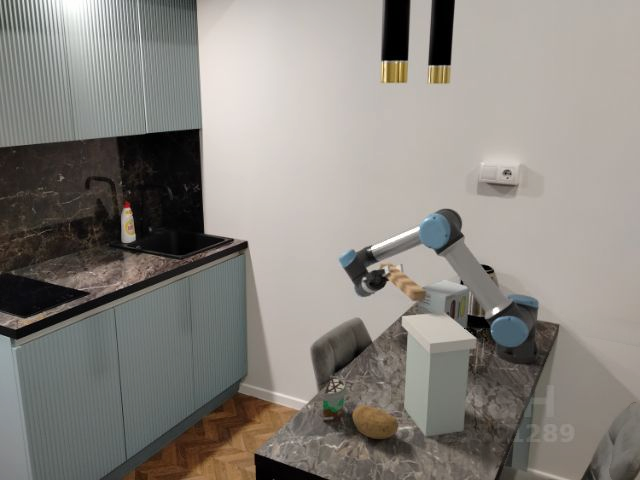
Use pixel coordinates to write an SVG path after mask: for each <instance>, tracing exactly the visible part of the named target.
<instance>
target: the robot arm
mask: <svg viewBox="0 0 640 480" xmlns="http://www.w3.org/2000/svg"><path fill="white" fill-rule="evenodd" d="M462 229H463V219H462V217H461V215H460V214H459V212H457V211H456V210H454V209H452V208H441V209H439V210H437V211H435V212H432V213H431V214H429V215H427V216H426V217H425V218H424V219H423V220H422V221H421V222H420V223H419V224H417V225H414V226H412V227H410V228H408V229H404V230H402V231H400V232H398V233H396V234H394V235H391V236H389V237H387V238H384V239H382V240H380V241H378V242H375V243H373V244H371V245H367V246H365V247H363V248H362V249H360V250H359V251H355V249H353V248H351V249H348V250H347V251H345V252H344V253H342V254H341V255H339V257H338V261H339V263H340V265H341V268H342V269H343V270H344V271H345V273H346V274H347V276H348V277H349V278H350V281H351V282H352V284H353V285H354V287H353V291H354V293H355V294H356V295H357V296H358V297H360V298H367V297H370V296H371V295H375V293H377V292H378V291H381V290H382V289H383V288H384V287H386V285H387V282H391V281H390V280H389V279H387V278H386V277H385V276H386V275H387V274H389V273H391V271H390V265H387V266H385V267H384V268H382V269H381V270H380V268H379V269H373V270H371V271H369V270H368V269H367V268H369V267H371V266H373V265H375V264H378V263H380V262H381V261H384V260H386V259H389V258H392V257H393V256H396V255H399V254H402V253H404V252H407V251H408V250H411V249H413V248H416V247H419V246H421V245H424V247H426V248H428V249H432V250H433V252H435V254H436V256H438V257H443V258H444V259H445V260H446V261H447V262H448V264H449V265H450V267H451V268H452V270H453V271H454V272H455V273H456V274H457V276H458V277H459V279H460V280H461V281H462V282H463V284H464V286H466V287H467V288H468V289H469V293H470V294H471V295H472V296H473V297H474V299H475V300H476V301H477V303H478V304H479V305H480V307H481V308H482V309H483V311H484V312H485V313H484V319H485V321H486V322H487V324H488V325H489V326H490V335H491V337H492V339H493V340H494V341H495V342H496V346H495V354H496V356H498V357H499V358H500V359H502V360H504V361H506V362H510V363H513V364H514V363H515V364H521V365H522V364H523V365H524V364H531V363H534V362H537V361H538V358H539V349H538V345H537V340H536V332H537V321H538V315H539V314H538V313H539V309H540V307H539V305H540V303H539V300H538V299H537V298H535V297H532V296H529V295H523V294H514V293H513V294H508V295H506V296H505V295H504V293H503V292H502V291H501V289H500V288H499V287H498V286H497V284H496V282H494V280H493V279H492V278H491V277H490V275H489V274H488V273H487V271H486V270H485V269H484V267H483V266H482V265H481V263H480V262H479V260H478V259H477V258H476V256H474V253H472V252H471V250H470V248H469V247H468V246H467V245H466V243H465V238H466V237H465V234H463V232H462ZM394 266H395V267H396V268H397V269H399V270H400V271H401V272H403V273H404V266H403V263H400V264H397V266H396V265H394Z"/></svg>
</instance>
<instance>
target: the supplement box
mask: <svg viewBox="0 0 640 480" xmlns="http://www.w3.org/2000/svg"><path fill="white" fill-rule="evenodd" d="M421 288H422V289H424V290H425V291H426V295H425V300H422V301H418V312H417V313H418V314H417V315H420V314H430V313H440V312H445V313H446V314H447V315H448V316H450V317H451V318H452V319H453V320H455V321H456V322H457V323H458V324H460V325H461V326H462V327H463V328H465V329H467V326H468V313H469V303H470V302H469V301H470V300H469V299H470V291H469V289H468V288H467V287H466V285H463V284H460V283H457V282H453V281H450V280H447V279H443V280H439V281H437V282H434V283H430V284H427V285H425V286H422V287H421Z"/></svg>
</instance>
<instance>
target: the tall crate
mask: <svg viewBox="0 0 640 480" xmlns="http://www.w3.org/2000/svg"><path fill="white" fill-rule="evenodd" d="M401 326H402V328H403V329H404V330H406V332H407V341H406V342H407V345H406V361H405V362H406V363H405V367H406V368H405V384H404V385H405V386H404V402H403V403H404V404H403V407H404V408H403V409H404V410H405V411H406V412H407V414H408V416H409V417H410V418H411V420H412V421H413V422H414V423H415V424H416V426H417V427H418V429H419V430H420V432H421V433H422V434H423V436H424V437H426V438H427V437H432V436H440V435H445V434H446V435H447V434H452V433H460V432H464V427H465V413H466V402H467V388H468V377H469V376H468V374H469V363H470V362H469V361H470V353H471V352H470V351H471V350H472V349H476V348H477V340H478V339H477V337H476V336H474V335H473V334H472V333H470V332H469V331H468V330H467V328H465V329H464V328H463V327H462V326H461V325H460V324H458V323H457V322H456V321H455V320H453V319H452V318H451V317H450V316H448V315H447V314H446V313H445V312H440V313H430V314H420V315H418V314H414V315H413V314H412V315H403V316H401Z"/></svg>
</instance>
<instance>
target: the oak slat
mask: <svg viewBox="0 0 640 480" xmlns="http://www.w3.org/2000/svg"><path fill="white" fill-rule="evenodd" d="M387 265H390V271H391V273H389V274H387V275H386V276H385V277H386V278H387V279H389V280H390V281H389V282H391V283H392V284H393V285H394V286H395V287H396V288H398V289H399V290H400V291H401V292H402V293H403V294H404V295H406V297H408V298H409V299H410V301H413V302H419V301H422V300H425V295H426V291H425V290H424V289H422V287H421V286H420V285H419V284H418V283H416V282H415V281H414V280H413V279H411V278H410V277H409V276H408V275H407V274H405V273H404V272H401V271H400V270H399V269H397V268H396V267H395V266H396V265H394V264H393V263H391V262H384V263H379V269H380V270H381V269H382V268H384V267H385V266H387Z"/></svg>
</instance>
